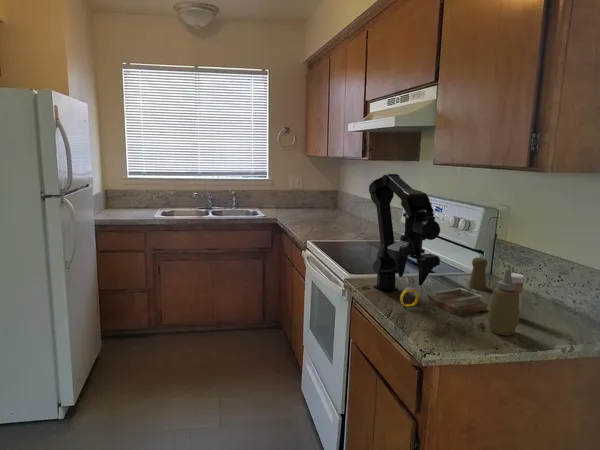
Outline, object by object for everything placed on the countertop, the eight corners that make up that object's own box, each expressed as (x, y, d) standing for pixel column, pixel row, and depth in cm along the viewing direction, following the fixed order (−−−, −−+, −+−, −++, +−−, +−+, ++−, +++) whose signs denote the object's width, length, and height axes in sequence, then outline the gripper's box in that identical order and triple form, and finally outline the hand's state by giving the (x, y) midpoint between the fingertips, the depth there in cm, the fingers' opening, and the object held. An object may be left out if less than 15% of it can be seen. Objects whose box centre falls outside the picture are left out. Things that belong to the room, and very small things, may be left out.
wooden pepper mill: (486, 290, 160) (489, 261, 158) (468, 288, 162) (471, 259, 160) (485, 285, 166) (488, 257, 164) (468, 283, 168) (470, 255, 166)
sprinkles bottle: (500, 314, 138) (504, 272, 136) (514, 314, 138) (519, 272, 136) (508, 320, 134) (513, 277, 131) (523, 320, 134) (528, 276, 132)
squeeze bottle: (523, 337, 122) (531, 274, 118) (495, 338, 121) (501, 274, 118) (507, 325, 130) (514, 265, 126) (480, 326, 129) (486, 265, 126)
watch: (403, 309, 142) (402, 291, 141) (398, 305, 145) (398, 288, 144) (419, 306, 144) (419, 288, 142) (415, 303, 146) (415, 285, 145)
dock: (428, 302, 147) (429, 290, 147) (455, 297, 153) (456, 286, 152) (459, 316, 136) (460, 303, 135) (486, 310, 142) (487, 297, 141)
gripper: (374, 229, 144) (372, 276, 147) (414, 241, 128) (410, 293, 131) (401, 227, 149) (398, 272, 152) (443, 238, 133) (439, 288, 136)
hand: (410, 280), depth 143 cm, fingers open, 9 cm apart
